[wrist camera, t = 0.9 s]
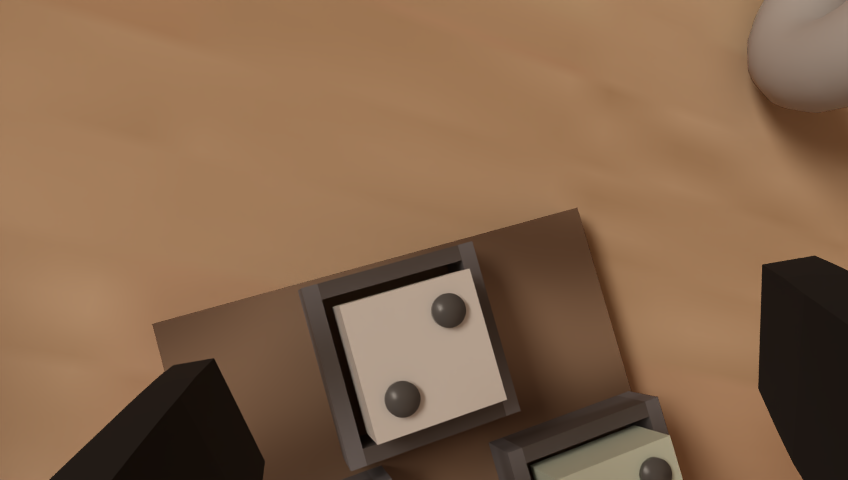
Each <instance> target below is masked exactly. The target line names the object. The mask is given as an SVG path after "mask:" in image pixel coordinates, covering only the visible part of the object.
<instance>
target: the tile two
mask: <svg viewBox="0 0 848 480" xmlns="http://www.w3.org/2000/svg"><path fill="white" fill-rule="evenodd" d="M332 309H333V312H334V316H335V320H336V323H337V327H338V331H339V334H340V338H341V342H342V345H343V349H344V352H345V356H346V360H347V363H348V367H349V371H350V374H351V378H352V382H353V385H354V389H355V392H356V396H357V400H358V403H359V407H360V411H361V414H362V418H363V422H364V425H365V429H366V433H367V434H368V435H369V436H370V437H371V438H372V439H373V440H374V441H375V443H376V444H377V445H379V444H382V443H385V442H387V441H390V440H393V439H396V438H399V437H402V436H405V435H407V434H410V433H413V432H416V431H419V430H422V429H425V428H427V427H430V426H433V425H436V424H439V423H442V422H445V421H447V420H450V419H453V418H456V417H459V416H462V415H464V414H467V413H470V412H473V411H476V410H479V409H482V408H484V407H487V406H490V405H493V404H496V403H499V402H502V401H504V400H507V398H506V394H505V391H504V387H503V384H502V380H501V377H500V373H499V370H498V366H497V363H496V359H495V356H494V352H493V349H492V345H491V342H490V338H489V335H488V331H487V328H486V324H485V321H484V317H483V314H482V310H481V307H480V303H479V300H478V296H477V293H476V289H475V286H474V282H473V279H472V275H471V272H470V269H465V270H461V271H457V272H452V273H449V274H445V275H442V276H438V277H435V278H431V279H428V280H424V281H421V282H417V283H414V284H410V285H407V286H403V287H400V288H396V289H393V290H389V291H386V292H382V293H379V294H375V295H372V296H368V297H365V298H362V299H358V300H355V301H351V302H348V303H344V304H341V305H337V306H334V307H332Z"/></svg>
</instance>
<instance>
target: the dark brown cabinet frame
mask: <svg viewBox="0 0 848 480" xmlns="http://www.w3.org/2000/svg"><path fill="white" fill-rule="evenodd" d="M465 269H470V272H471V275H472V279H473V282H474V286H475V289H476V293H477V296H478V300H479V303H480V307H481V310H482V314H483V317H484V321H485V324H486V328H487V331H488V335H489V338H490V342H491V345H492V349H493V352H494V356H495V359H496V363H497V366H498V370H499V373H500V377H501V380H502V384H503V387H504V391H505V394H506V398H507V400H504V401H502V402H499V403H496V404H493V405H490V406H487V407H484V408H482V409H479V410H476V411H473V412H470V413H467V414H464V415H462V416H459V417H456V418H453V419H450V420H447V421H445V422H442V423H439V424H436V425H433V426H430V427H427V428H425V429H422V430H419V431H416V432H413V433H410V434H407V435H405V436H402V437H399V438H396V439H393V440H390V441H387V442H385V443H382V444H379V445H377V444H376V443H375V441H374V440H373V439H372V438H371V437H370V436H369V435H368V434H367V433H366V429H365V425H364V422H363V418H362V414H361V411H360V407H359V403H358V400H357V396H356V392H355V389H354V385H353V382H352V378H351V374H350V371H349V367H348V363H347V360H346V356H345V352H344V349H343V345H342V342H341V338H340V334H339V331H338V327H337V323H336V320H335V316H334V312H333V309H332V307H334V306H337V305H341V304H344V303H348V302H351V301H355V300H358V299H362V298H365V297H368V296H372V295H375V294H379V293H382V292H386V291H389V290H393V289H396V288H400V287H403V286H407V285H410V284H414V283H417V282H421V281H424V280H428V279H431V278H435V277H438V276H442V275H445V274H449V273H452V272H457V271H461V270H465ZM152 325H153V329H154V332H155V336H156V340H157V344H158V348H159V351H160V355H161V359H162V363H163V367H164V371H166V370H168V369H169V368H170V367H171V366H173V365H176V364H182V363H188V362H194V361H200V360H206V359H212V358H214V359H215V361H216V363H217V365H218V367H219V369H220V371H221V373H222V375H223V377H224V379H225V381H226V383H227V385H228V387H229V389H230V391H231V393H232V395H233V397H234V399H235V401H236V403H237V405H238V407H239V409H240V411H241V413H242V416H243V418H244V420H245V422H246V424H247V426H248V428H249V430H250V432H251V434H252V436H253V438H254V440H255V442H256V444H257V446H258V448H259V450H260V452H261V454H262V456H263V458H264V460H265V466H264V474H263V480H534V477H533V474H532V470H531V467H530V465H532V464H534V463H537V462H540V461H542V460H545V459H547V458H550V457H553V456H555V455H558V454H561V453H563V452H566V451H568V450H571V449H574V448H576V447H579V446H581V445H584V444H587V443H589V442H592V441H594V440H597V439H600V438H602V437H605V436H607V435H610V434H613V433H615V432H618V431H621V430H623V429H626V428H628V427H631V426H634V425H636V426H639V427H643V428H646V429H649V430H653V431H656V432H660V433H663V434H667V435H669V433H668V430H667V427H666V423H665V420H664V417H663V413H662V410H661V406H660V403H659V400H658V397H655V396H650V395H645V394H640V393H635V392H631V389H630V385H629V382H628V378H627V375H626V372H625V368H624V365H623V361H622V358H621V355H620V351H619V348H618V344H617V341H616V338H615V334H614V331H613V327H612V324H611V321H610V317H609V314H608V310H607V307H606V304H605V300H604V297H603V293H602V290H601V287H600V283H599V280H598V277H597V273H596V270H595V266H594V263H593V260H592V256H591V253H590V249H589V246H588V243H587V239H586V236H585V232H584V229H583V226H582V222H581V219H580V215H579V212H578V209H577V208H575V209H571V210H567V211H564V212H560V213H556V214H553V215H549V216H545V217H542V218H538V219H534V220H531V221H527V222H523V223H520V224H516V225H512V226H509V227H505V228H501V229H498V230H494V231H490V232H487V233H483V234H480V235H476V236H472V237H469V238H465V239H461V240H458V241H454V242H450V243H447V244H443V245H439V246H436V247H432V248H428V249H425V250H421V251H417V252H414V253H410V254H406V255H403V256H399V257H395V258H392V259H388V260H385V261H381V262H377V263H374V264H370V265H366V266H363V267H359V268H355V269H352V270H348V271H344V272H341V273H337V274H333V275H330V276H326V277H322V278H319V279H315V280H311V281H308V282H304V283H300V284H297V285H293V286H289V287H286V288H282V289H279V290H275V291H271V292H268V293H264V294H260V295H257V296H253V297H249V298H246V299H242V300H238V301H235V302H231V303H227V304H224V305H220V306H216V307H213V308H209V309H205V310H202V311H198V312H194V313H191V314H187V315H184V316H180V317H176V318H173V319H169V320H165V321H162V322H158V323H154V324H152Z"/></svg>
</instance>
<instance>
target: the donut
mask: <svg viewBox="0 0 848 480" xmlns="http://www.w3.org/2000/svg"><path fill="white" fill-rule="evenodd" d="M747 53H748V71H749V74H750V76H751V79H752V81H753V82H754V83H755V85H756V86H757V87H758V88H759V89H760V91H761V92H762V93H763V94H764V95H765V96H766V97H767V98H768V99H769V100H770V101H771V102H772V103H774V104H776V105H778V106H781V107H783V108H788V109H793V110H799V111H804V112H814V113H820V112H825V111H830V110H835V109H840V108H844V107H848V0H764V1H763V3H762V5H761V7H760V9H759V10H758V13H757V15H756V17H755V19H754V22H753V26H752V29H751V32H750V35H749V38H748V48H747Z"/></svg>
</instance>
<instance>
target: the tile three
mask: <svg viewBox="0 0 848 480" xmlns="http://www.w3.org/2000/svg"><path fill="white" fill-rule="evenodd" d="M530 467H531V470H532V474H533V477H534V480H683V478H682V475H681V471H680V468H679V465H678V461H677V458H676V455H675V451H674V448H673V444H672V441H671V438H670V435H667V434H663V433H660V432H656V431H653V430H649V429H646V428H643V427H639V426H636V425H634V426H631V427H628V428H626V429H623V430H621V431H618V432H615V433H613V434H610V435H607V436H605V437H602V438H600V439H597V440H594V441H592V442H589V443H587V444H584V445H581V446H579V447H576V448H574V449H571V450H568V451H566V452H563V453H561V454H558V455H555V456H553V457H550V458H547V459H545V460H542V461H540V462H537V463H534V464H532V465H530Z"/></svg>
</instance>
